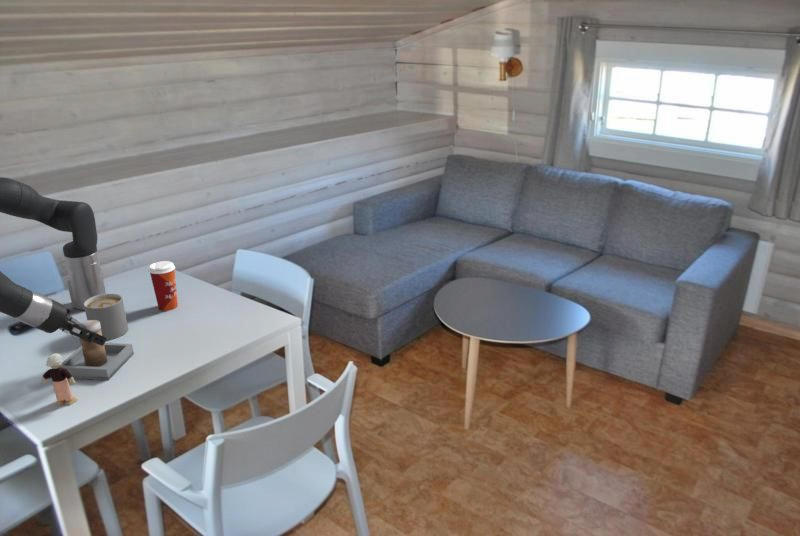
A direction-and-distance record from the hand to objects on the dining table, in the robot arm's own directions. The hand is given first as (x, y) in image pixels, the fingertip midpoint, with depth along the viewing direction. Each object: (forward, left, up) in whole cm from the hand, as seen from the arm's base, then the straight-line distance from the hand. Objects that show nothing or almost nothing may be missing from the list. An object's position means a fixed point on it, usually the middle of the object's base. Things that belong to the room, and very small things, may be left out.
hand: (96, 336), depth 164 cm
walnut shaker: (-1, -1, -7) cm, 7 cm away
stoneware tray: (-1, -1, -8) cm, 8 cm away
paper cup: (+2, +35, -8) cm, 36 cm away
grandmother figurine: (0, -17, -8) cm, 19 cm away
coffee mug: (-8, +19, -8) cm, 22 cm away
